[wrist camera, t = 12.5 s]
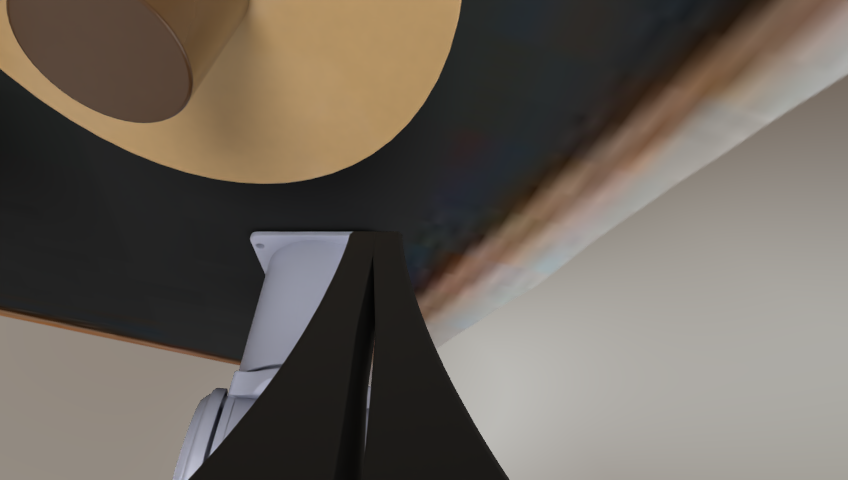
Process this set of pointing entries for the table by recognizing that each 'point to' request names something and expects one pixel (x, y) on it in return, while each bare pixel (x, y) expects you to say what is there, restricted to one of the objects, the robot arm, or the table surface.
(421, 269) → the table surface
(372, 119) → the lid
